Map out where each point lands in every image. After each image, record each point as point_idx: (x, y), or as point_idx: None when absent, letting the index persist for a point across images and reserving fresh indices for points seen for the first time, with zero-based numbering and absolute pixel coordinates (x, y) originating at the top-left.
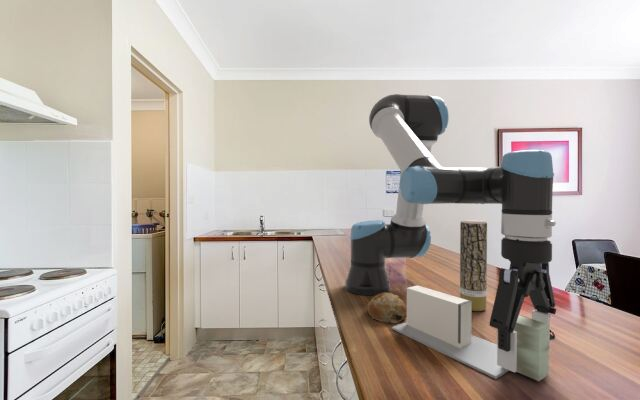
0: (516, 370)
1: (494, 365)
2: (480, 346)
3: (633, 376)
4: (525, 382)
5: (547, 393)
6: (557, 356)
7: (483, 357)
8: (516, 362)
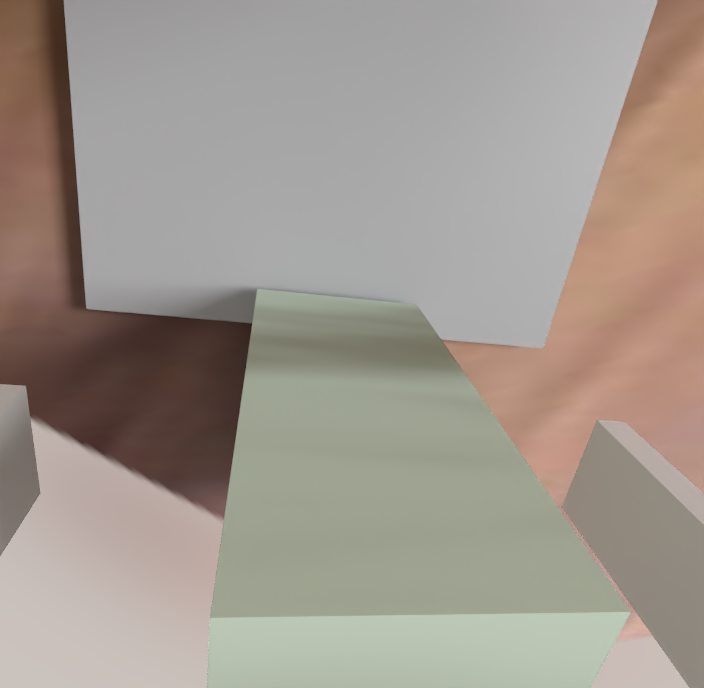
0: (38, 495)
1: (232, 246)
2: (481, 29)
3: (645, 635)
4: (224, 417)
5: (210, 506)
6: (677, 434)
7: (289, 135)
8: (8, 542)
